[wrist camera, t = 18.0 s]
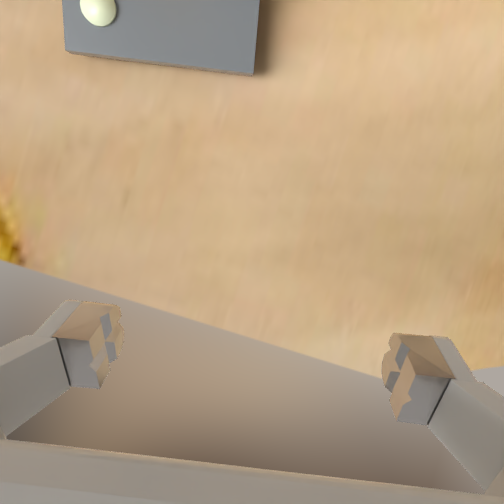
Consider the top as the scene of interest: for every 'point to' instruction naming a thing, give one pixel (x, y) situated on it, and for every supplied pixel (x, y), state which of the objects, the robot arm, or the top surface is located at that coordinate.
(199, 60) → the base
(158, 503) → the robot arm
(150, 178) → the top surface
